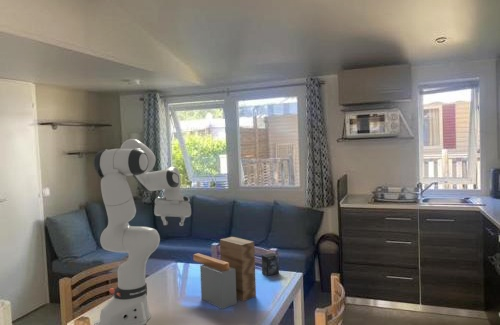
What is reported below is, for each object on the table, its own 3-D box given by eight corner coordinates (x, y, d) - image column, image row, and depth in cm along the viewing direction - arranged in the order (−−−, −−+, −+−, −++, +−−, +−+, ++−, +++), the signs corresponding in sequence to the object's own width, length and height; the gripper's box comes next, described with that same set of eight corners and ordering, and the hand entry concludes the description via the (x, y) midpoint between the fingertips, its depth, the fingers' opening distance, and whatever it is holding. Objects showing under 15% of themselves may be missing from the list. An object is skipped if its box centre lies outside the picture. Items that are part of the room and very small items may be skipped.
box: (267, 276, 212) (267, 257, 211) (261, 273, 216) (261, 254, 216) (279, 273, 216) (278, 254, 216) (273, 270, 221) (272, 252, 220)
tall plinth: (243, 301, 179) (241, 245, 178) (221, 292, 191) (219, 239, 190) (255, 296, 184) (254, 241, 183) (234, 287, 196) (232, 236, 195)
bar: (224, 271, 173) (223, 264, 172) (193, 260, 190) (193, 254, 190) (229, 269, 175) (229, 262, 174) (198, 259, 192) (198, 253, 192)
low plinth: (222, 308, 171) (221, 272, 170) (201, 299, 183) (200, 265, 182) (236, 303, 176) (235, 268, 175) (215, 294, 188) (213, 261, 187)
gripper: (158, 195, 191) (158, 223, 187) (192, 198, 205) (193, 224, 201) (151, 198, 196) (152, 225, 192) (185, 201, 210) (186, 226, 206)
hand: (173, 225), depth 197 cm, fingers open, 8 cm apart
